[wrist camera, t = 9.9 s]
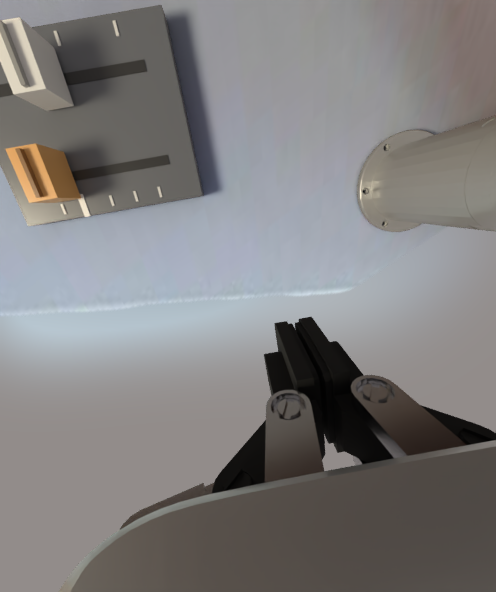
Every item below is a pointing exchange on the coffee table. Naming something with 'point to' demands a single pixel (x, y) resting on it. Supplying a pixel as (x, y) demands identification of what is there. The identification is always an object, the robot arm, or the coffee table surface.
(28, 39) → the fader white
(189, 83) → the coffee table surface
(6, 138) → the console
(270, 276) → the coffee table surface
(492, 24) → the coffee table surface
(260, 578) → the robot arm
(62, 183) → the fader orange
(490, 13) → the coffee table surface
